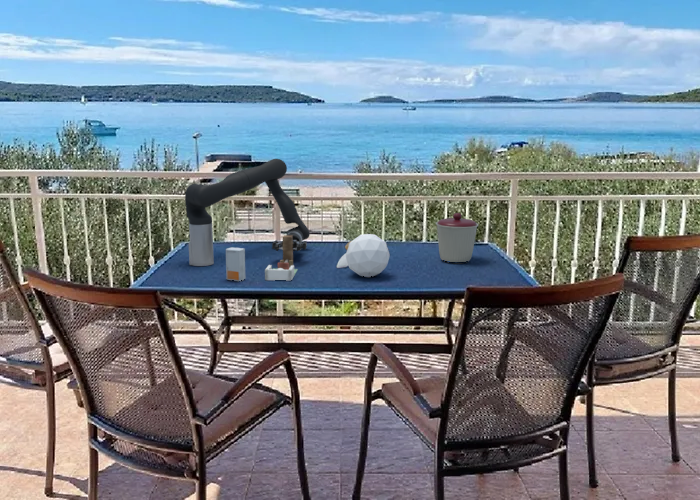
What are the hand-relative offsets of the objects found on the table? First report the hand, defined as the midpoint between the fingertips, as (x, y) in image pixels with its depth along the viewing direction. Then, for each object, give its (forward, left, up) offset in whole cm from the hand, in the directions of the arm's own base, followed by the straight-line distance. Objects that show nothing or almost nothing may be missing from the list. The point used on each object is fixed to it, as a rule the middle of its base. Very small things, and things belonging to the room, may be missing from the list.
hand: (287, 248), depth 246 cm
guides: (0, -2, -8) cm, 8 cm away
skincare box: (-16, -23, -8) cm, 29 cm away
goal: (0, -19, -8) cm, 20 cm away
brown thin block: (0, -4, -7) cm, 8 cm away
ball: (0, -18, -6) cm, 19 cm away
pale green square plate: (0, -10, -8) cm, 13 cm away
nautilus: (+33, +23, -8) cm, 41 cm away
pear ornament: (+31, -8, -8) cm, 33 cm away
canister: (+71, +16, -8) cm, 73 cm away
